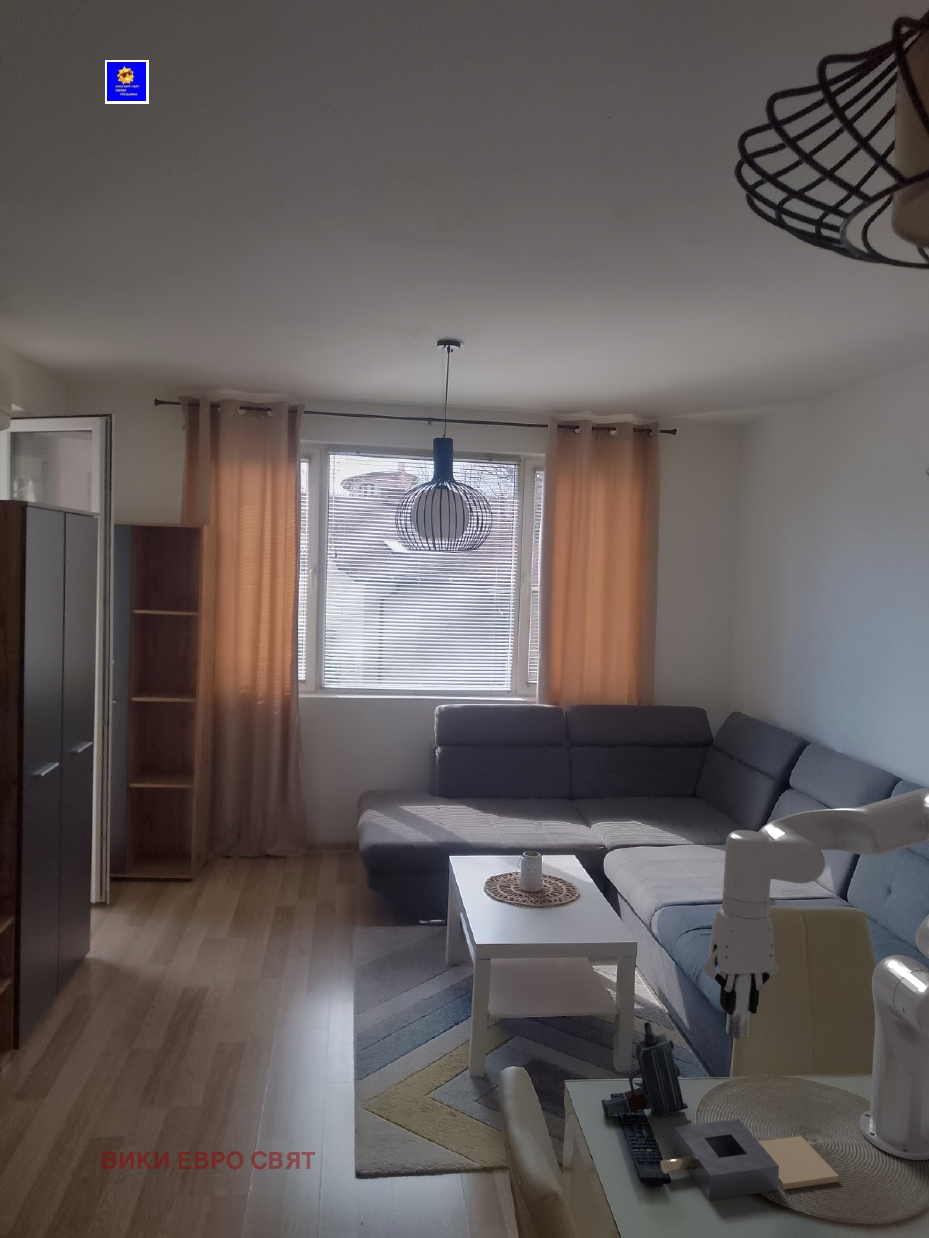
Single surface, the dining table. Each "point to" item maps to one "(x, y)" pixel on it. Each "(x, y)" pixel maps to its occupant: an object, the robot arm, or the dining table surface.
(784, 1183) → the pad
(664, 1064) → the gun
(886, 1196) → the dining table surface
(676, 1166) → the block
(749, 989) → the silver metal rod
